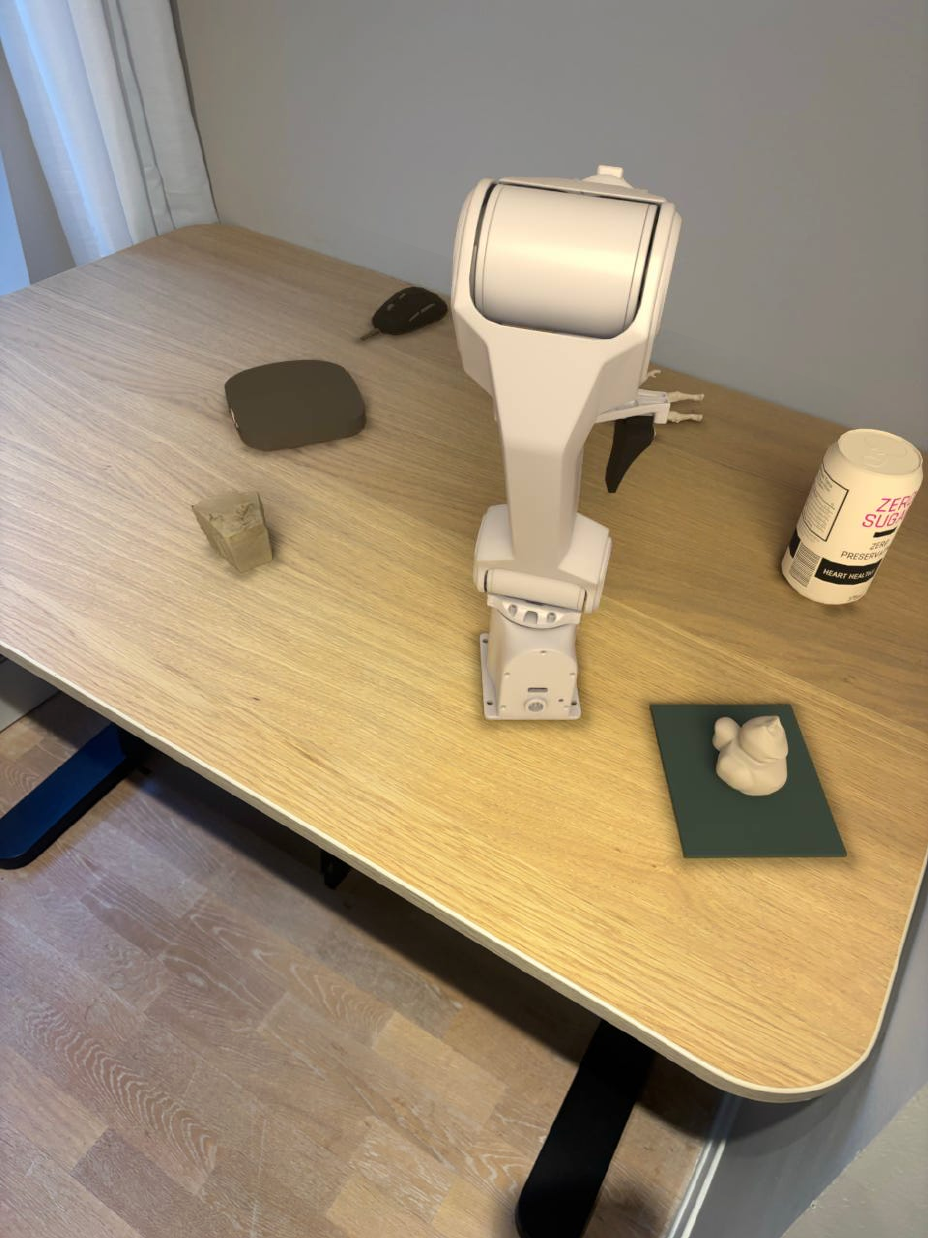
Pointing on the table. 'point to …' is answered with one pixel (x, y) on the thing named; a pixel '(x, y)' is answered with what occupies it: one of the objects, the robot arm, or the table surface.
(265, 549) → the mineral specimen
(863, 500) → the supplement can
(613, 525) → the table surface
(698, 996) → the table surface
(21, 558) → the table surface
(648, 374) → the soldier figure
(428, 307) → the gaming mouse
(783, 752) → the cream rounded figure
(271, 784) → the table surface
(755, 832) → the mat
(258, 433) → the media streaming box
